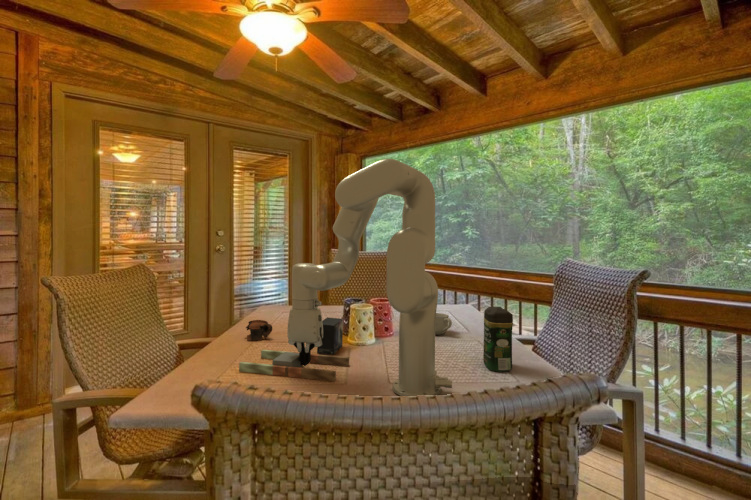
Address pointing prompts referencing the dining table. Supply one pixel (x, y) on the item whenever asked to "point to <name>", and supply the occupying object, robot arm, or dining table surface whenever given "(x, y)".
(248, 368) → the channel
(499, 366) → the coffee jar
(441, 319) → the teacup
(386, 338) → the dining table surface
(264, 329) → the pottery mug
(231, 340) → the dining table surface
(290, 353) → the grey block
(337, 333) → the small box
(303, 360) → the robot arm
